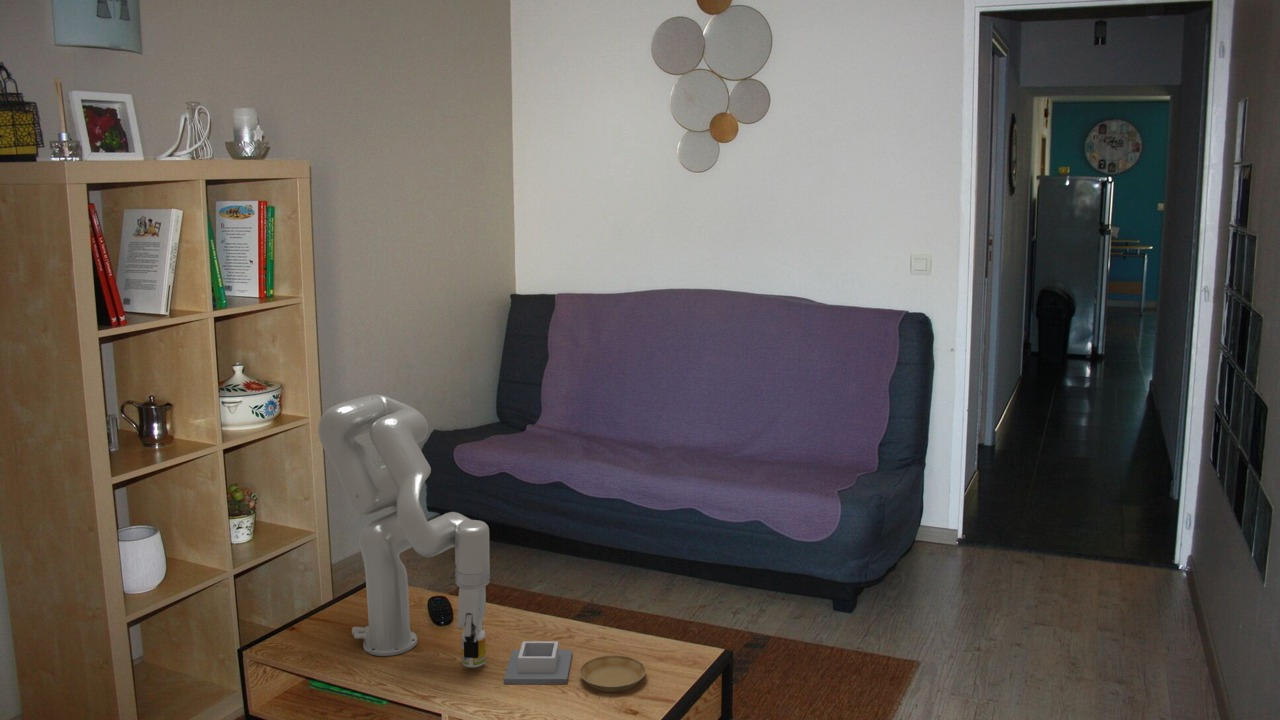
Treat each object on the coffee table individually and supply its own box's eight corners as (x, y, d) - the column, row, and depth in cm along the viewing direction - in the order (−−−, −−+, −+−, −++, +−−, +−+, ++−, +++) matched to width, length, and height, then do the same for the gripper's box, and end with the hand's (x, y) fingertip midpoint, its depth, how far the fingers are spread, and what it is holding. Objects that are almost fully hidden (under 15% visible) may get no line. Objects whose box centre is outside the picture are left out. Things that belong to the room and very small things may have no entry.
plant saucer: (582, 665, 236) (582, 654, 235) (646, 665, 235) (646, 654, 235) (576, 697, 221) (576, 686, 221) (645, 698, 221) (645, 686, 220)
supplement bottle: (488, 657, 236) (487, 618, 234) (482, 668, 231) (482, 628, 229) (465, 655, 237) (464, 616, 235) (459, 667, 232) (458, 627, 230)
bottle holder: (503, 684, 227) (503, 664, 226) (512, 654, 240) (512, 635, 240) (567, 684, 226) (566, 664, 226) (572, 654, 240) (571, 635, 239)
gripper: (463, 560, 238) (464, 633, 242) (448, 591, 221) (449, 668, 225) (495, 561, 238) (496, 633, 242) (482, 592, 221) (483, 669, 225)
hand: (473, 649), depth 233 cm, fingers closed on supplement bottle, 5 cm apart
